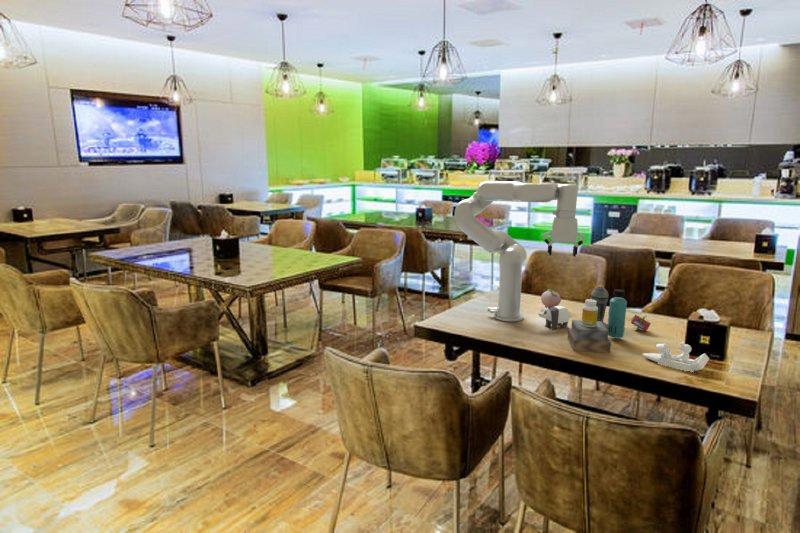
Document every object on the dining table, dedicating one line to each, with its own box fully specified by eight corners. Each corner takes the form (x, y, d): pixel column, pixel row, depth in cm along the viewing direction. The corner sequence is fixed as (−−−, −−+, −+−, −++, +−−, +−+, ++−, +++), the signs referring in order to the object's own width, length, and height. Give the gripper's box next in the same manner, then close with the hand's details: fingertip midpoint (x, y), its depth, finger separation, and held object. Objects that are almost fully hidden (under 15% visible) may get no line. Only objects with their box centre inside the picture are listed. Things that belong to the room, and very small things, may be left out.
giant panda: (561, 323, 225) (562, 301, 223) (570, 326, 221) (572, 305, 218) (533, 327, 219) (535, 305, 217) (542, 331, 215) (544, 309, 212)
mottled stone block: (573, 350, 194) (575, 330, 192) (567, 338, 207) (569, 319, 205) (609, 352, 192) (612, 331, 191) (601, 340, 205) (603, 320, 203)
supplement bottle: (594, 328, 194) (597, 303, 192) (579, 325, 197) (582, 301, 195) (597, 324, 199) (600, 299, 197) (583, 322, 202) (585, 297, 200)
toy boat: (646, 353, 192) (649, 330, 190) (708, 368, 180) (711, 343, 178) (637, 362, 184) (640, 338, 182) (701, 378, 171) (704, 353, 169)
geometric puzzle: (656, 326, 215) (646, 309, 217) (651, 330, 210) (640, 312, 212) (641, 333, 220) (631, 316, 222) (635, 337, 215) (624, 319, 217)
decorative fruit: (536, 307, 248) (537, 286, 246) (551, 305, 251) (553, 285, 249) (547, 312, 240) (549, 291, 237) (563, 311, 242) (564, 290, 240)
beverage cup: (603, 319, 230) (607, 275, 226) (608, 324, 223) (612, 279, 219) (586, 319, 231) (590, 275, 227) (590, 324, 224) (594, 279, 220)
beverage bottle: (623, 337, 209) (628, 288, 204) (624, 342, 203) (629, 292, 198) (605, 335, 211) (610, 287, 206) (606, 340, 205) (610, 291, 200)
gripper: (544, 214, 212) (541, 256, 215) (589, 216, 209) (585, 258, 213) (543, 212, 219) (539, 252, 223) (586, 214, 216) (582, 254, 220)
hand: (561, 255), depth 218 cm, fingers open, 9 cm apart
